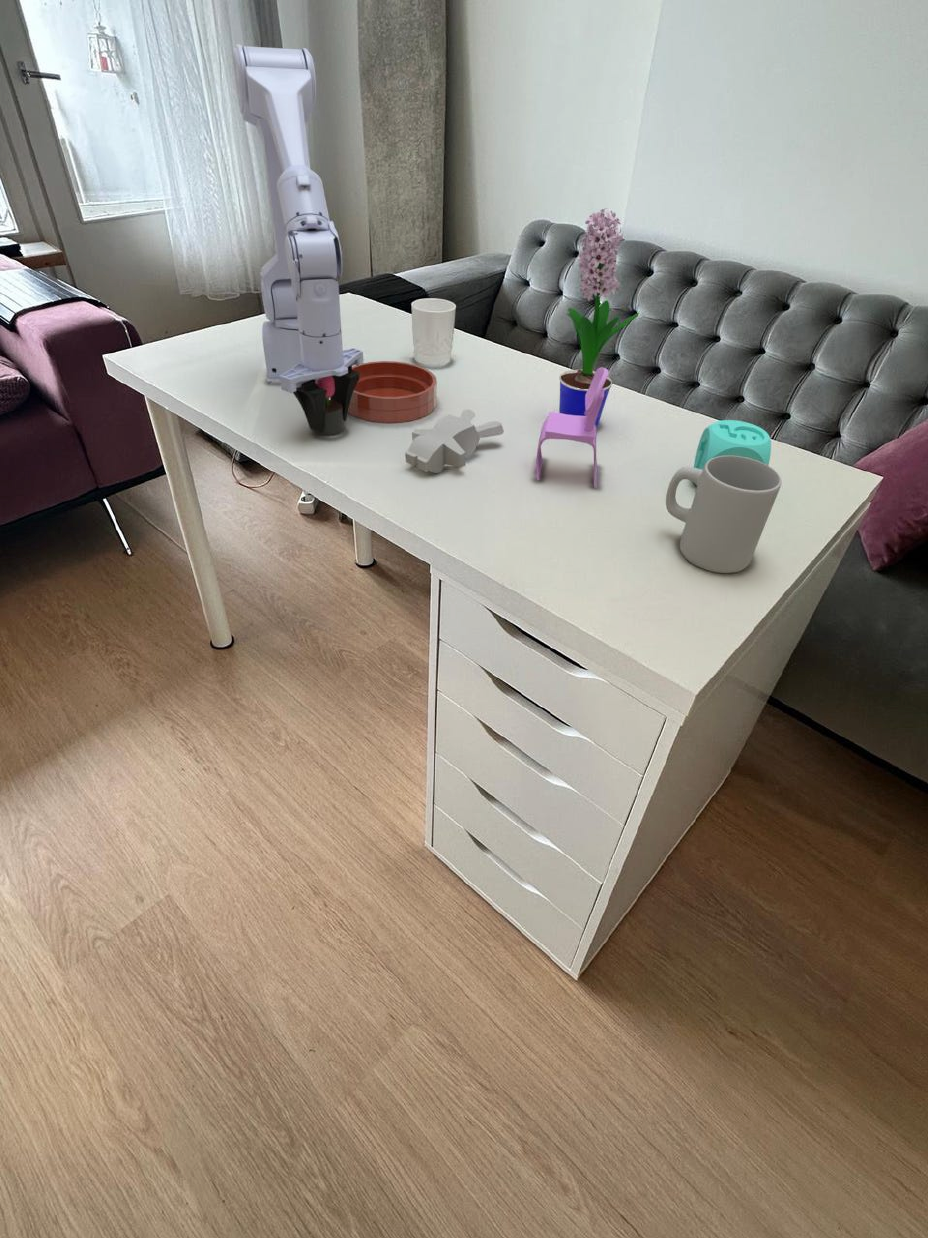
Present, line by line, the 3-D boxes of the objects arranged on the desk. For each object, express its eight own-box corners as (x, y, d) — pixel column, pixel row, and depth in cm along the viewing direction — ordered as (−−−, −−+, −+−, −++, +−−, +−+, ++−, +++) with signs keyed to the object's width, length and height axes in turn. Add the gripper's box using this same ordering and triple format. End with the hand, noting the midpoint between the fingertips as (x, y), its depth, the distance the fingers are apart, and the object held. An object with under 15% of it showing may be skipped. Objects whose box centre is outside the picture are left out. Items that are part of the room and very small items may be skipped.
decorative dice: (690, 468, 99) (706, 416, 93) (746, 475, 98) (765, 423, 93) (695, 495, 93) (712, 441, 87) (755, 503, 92) (775, 449, 87)
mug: (760, 551, 83) (793, 471, 76) (734, 583, 78) (767, 500, 70) (670, 515, 88) (693, 438, 81) (641, 543, 83) (663, 462, 76)
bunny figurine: (389, 435, 93) (461, 393, 100) (393, 467, 96) (462, 424, 104) (440, 459, 88) (511, 413, 96) (442, 491, 92) (510, 445, 99)
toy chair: (537, 456, 99) (551, 353, 89) (597, 463, 98) (617, 360, 88) (532, 483, 93) (547, 376, 83) (596, 492, 92) (618, 384, 82)
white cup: (452, 370, 122) (455, 313, 116) (409, 368, 122) (409, 310, 116) (454, 355, 128) (456, 299, 122) (413, 352, 128) (413, 296, 122)
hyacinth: (613, 440, 104) (661, 219, 84) (548, 431, 105) (579, 211, 86) (615, 417, 111) (659, 207, 91) (553, 409, 112) (584, 199, 92)
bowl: (339, 425, 103) (337, 397, 100) (344, 386, 114) (342, 359, 111) (438, 427, 104) (439, 399, 102) (433, 388, 116) (434, 361, 113)
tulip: (313, 437, 99) (307, 379, 93) (315, 424, 102) (310, 367, 97) (343, 438, 99) (339, 379, 94) (344, 425, 103) (341, 368, 97)
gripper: (302, 351, 85) (312, 449, 94) (377, 324, 94) (380, 416, 103) (263, 337, 88) (277, 434, 97) (340, 313, 97) (346, 403, 106)
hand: (328, 424), depth 100 cm, fingers closed on tulip, 4 cm apart
